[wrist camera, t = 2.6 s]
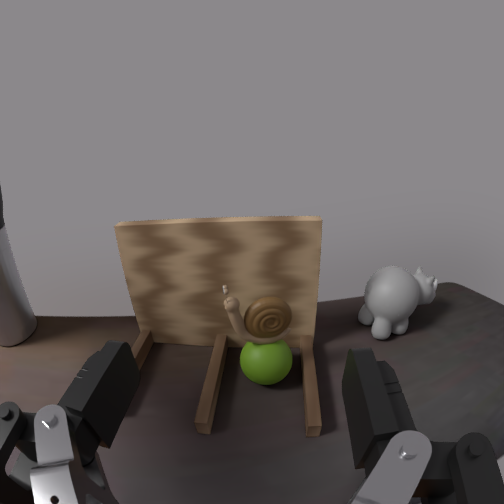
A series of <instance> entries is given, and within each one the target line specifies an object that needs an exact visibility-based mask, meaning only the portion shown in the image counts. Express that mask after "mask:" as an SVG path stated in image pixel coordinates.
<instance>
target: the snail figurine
mask: <svg viewBox="0 0 504 504" xmlns="http://www.w3.org/2000/svg"><path fill="white" fill-rule="evenodd" d="M222 289H223V294H224V295H225V297H226V295H228V294H229V290H228V286H227V285H223V287H222ZM224 306H225V310H226V311H227V312H228V316H229V319H230V321H231V324H232V326H233V328H234V330H235V332H236V333H237V334H238V336H239V337H240V338H242V339H243V340H245V341H247V343H246V344H245V346H244V347H243V349H242V351H241V355H240V365H241V368H242V371H243V372H244V374H245V375H246V376H247V378H249V379H250V380H251V381H253V382H255V383H257V384H261V385H271V384H275V383H277V382H279V381H281V380H282V379H283V378H285V376H286V375H287V374H288V373H289V371H290V369H291V366H292V353H291V350H290V348H289V346H288V345H287V343H286V342H285V341H284V340H282V339H283V338H284V337H285V336H286V335H288V333H289V332H290V331H291V328H288V326H289V325H290V323H291V320H292V311H291V308H290V306H289V305H288V304H287V303H286V302H285V301H284V300H282V299H280V298H277V297H264V298H261V299H258V300H257V301H255V302H253V303H252V304H251V305H250V306H249V307H248V308H247V310H246V312H245V315H244V320H243V318H242V316H241V314H240V311H239V307H240V302H239V300H238V299H237V298H235V297H228V298H227V297H226V300H225V301H224Z"/></svg>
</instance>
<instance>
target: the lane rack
mask: <svg viewBox="0 0 504 504" xmlns="http://www.w3.org/2000/svg"><path fill="white" fill-rule="evenodd" d="M114 228H115V233H116V238H117V243H118V248H119V252H120V257H121V262H122V266H123V270H124V274H125V279H126V282H127V286H128V290H129V294H130V297H131V301H132V305H133V309H134V312H135V315H136V319H137V322H138V326H139V329H140V332H141V333H140V334H139V336H138V338H137V339H136V341H135V343H134V345H133V346H132V348H131V350H132V353H133V356H134V358H135V361H136V363H137V366H138V368H139V371H140V369H141V367H142V365H143V363H144V361H145V359H146V357H147V355H148V353H149V351H150V349H151V347H152V345H153V343H154V342H159V343H170V344H183V345H197V346H214V347H213V351H212V355H211V359H210V362H209V366H208V370H207V374H206V378H205V381H204V385H203V389H202V393H201V397H200V401H199V404H198V408H197V412H196V416H195V420H194V424H195V427H196V429H197V432H198V433H202V434H210V433H211V428H212V423H213V419H214V414H215V409H216V404H217V399H218V394H219V389H220V384H221V380H222V375H223V370H224V365H225V360H226V356H227V351H228V347H244V346H245V344H246V343H247V341H245V340H243V339H242V338H240V337H239V336H238V334H237V333H236V332H235V330H234V328H233V326H232V324H231V321H230V319H229V316H228V312H227V311H226V310H225V306H224V301H225V300H226V297H227V298H228V297H235V298H237V299H238V300H239V302H240V307H239V311H240V314H241V316H242V318H243V320H244V315H245V312H246V310H247V308H248V307H249V306H250V305H251V304H252V303H253V302H255V301H257V300H258V299H261V298H264V297H277V298H280V299H282V300H284V301H285V302H286V303H287V304H288V305H289V306H290V308H291V311H292V320H291V323H290V325H289V326H288V328H291V331H290V332H289V333H288V335H286V336H285V337H284V338H283V339H282V340H284V341H285V342H286V343H287V345H288V346H289V348H300V356H301V369H302V382H303V396H304V411H305V428H306V437H317V436H319V434H320V431H321V427H322V422H321V413H320V404H319V395H318V387H317V378H316V370H315V363H314V355H313V348H312V347H313V340H314V330H315V320H316V309H317V298H318V285H319V271H320V255H321V235H322V219H321V218H320V216H276V217H275V216H268V217H224V218H223V217H221V218H191V219H167V220H148V221H129V222H120V223H118V224H117V225H115V226H114ZM223 285H227V286H228V290H229V294H228V295H226V297H225V295H224V294H223V289H222V287H223Z"/></svg>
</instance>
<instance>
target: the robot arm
mask: <svg viewBox="0 0 504 504" xmlns="http://www.w3.org/2000/svg"><path fill="white" fill-rule="evenodd" d="M36 326H37V320H36V318H35V315H34V313H33V310H32V308H31V305H30V303H29V300H28V298H27V295H26V292H25V290H24V287H23V284H22V281H21V279H20V276H19V273H18V270H17V267H16V263H15V260H14V257H13V253H12V250H11V247H10V243H9V240H8V236H7V232H6V228H5V223H4V219H3V201H2V194H1V187H0V345H2V346H13V345H16V344H18V343H20V342H22V341H24V340H25V339H27V338H28V337H29V336H30V335H31V334H32V333H33V332H34V330H35V329H36ZM139 382H140V371H139V368H138V366H137V363H136V361H135V358H134V356H133V353H132V350H131V347H130V345H129V344H128V343H127V342H120V341H112V340H109V341H108V342H107V343H106V344H105V345H104V347H103V348H102V350H101V351H97V352H96V353H95V354H93V355H92V356H91V357H90V358H88V359H87V361H86V362H85V364H84V365H83V367H82V370H80V371H79V373H78V374H77V377H75V378H74V380H73V381H72V383H71V384H70V386H69V387H68V389H67V391H66V392H65V394H64V395H63V397H62V398H61V400H60V401H59V403H58V404H57V405H47V406H45V407H43V408H41V409H40V410H39V411H38V412H37V413H27V412H22V411H21V410H20V408H19V407H18V406H17V404H15V403H14V402H5V403H3V404H1V405H0V504H119V503H118V501H117V500H116V499H115V497H114V496H113V494H112V492H111V490H110V487H109V485H108V482H107V479H106V476H105V473H104V470H103V467H102V464H101V461H100V457H99V454H98V452H97V451H96V450H97V448H98V446H102V447H105V448H109V449H110V447H111V444H112V442H113V440H114V438H115V435H116V433H117V431H118V429H119V426H120V424H121V422H122V420H123V418H124V415H125V413H126V411H127V409H128V407H129V405H130V402H131V400H132V398H133V396H134V394H135V392H136V390H137V388H138V385H139ZM398 382H399V381H398V379H397V376H396V374H395V371H394V369H393V368H392V367H391V366H390V365H389V364H388V363H387V362H386V361H377V362H376V359H375V356H374V353H373V351H372V349H371V348H359V349H350V350H349V352H348V356H347V361H346V365H345V370H344V374H343V379H342V394H343V400H344V405H345V411H346V416H347V422H348V428H349V433H350V439H351V446H352V452H353V459H354V465H355V469H360V468H365V473H366V477H365V479H364V480H363V482H362V483H361V485H360V486H359V488H358V489H357V490H356V492H355V493H354V495H353V496H352V497H351V499H350V500H349V502H348V503H347V504H408V503H409V501H410V499H411V497H421V502H422V504H504V484H503V480H502V476H501V473H500V470H499V467H498V463H497V460H496V457H495V454H494V451H493V448H492V446H491V443H490V441H489V440H488V439H487V437H485V436H484V435H482V434H480V433H468V434H466V435H464V436H463V437H462V438H461V439H460V440H459V441H458V442H433V441H430V440H429V439H428V438H427V437H426V436H425V435H423V434H422V433H420V432H418V431H417V430H416V428H415V425H414V422H413V420H412V417H411V414H410V411H409V408H408V405H407V403H406V400H405V397H404V394H403V393H402V389H401V386H400V384H399V383H398ZM15 446H16V447H17V448H18V449H19V450H20V451H21V453H20V455H19V457H18V459H17V461H16V463H15V465H14V468H13V470H12V472H11V474H10V475H9V476H7V474H6V472H5V465H6V463H7V461H8V459H9V457H10V455H11V453H12V451H13V449H14V447H15Z"/></svg>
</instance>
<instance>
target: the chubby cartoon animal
mask: <svg viewBox="0 0 504 504" xmlns="http://www.w3.org/2000/svg"><path fill="white" fill-rule="evenodd" d="M434 279H435V277H434V276H432V277H428V276H427V275H425V274H423V273H422V267H421V266H420V267H419V268H418V269H417V272H416V274H414V275H412V274H411V273H410V272H409V271H408V270H406V269H404V268H402V267H399V266H387V267H384V268H381V269H379V270H378V271H376V272H375V273H374V274H373V275H372V276H371V278H370V279H369V281H368V282H367V285H366V288H365V295H364V297H365V304H364V305H363V306H362V308H361V309H360V312H359V315H358V319H359V321H360V322H361V323H362V324H365V325H372V324H373V326H372V335H373V337H374V338H376V339H386V338H388V337H389V336H390V334H391V332H392V333H394V334H403V333H405V332H406V330H407V328H408V317H409V316H410V315H411V314H412V313H413V312H414V310H415V308H416V306H417V305H422V304H429V303H431V302H432V301H433V299H434V297H435V295H436V294H435V290H436V288H437V279H436V280H435V282H434ZM433 282H434V284H433Z"/></svg>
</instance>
